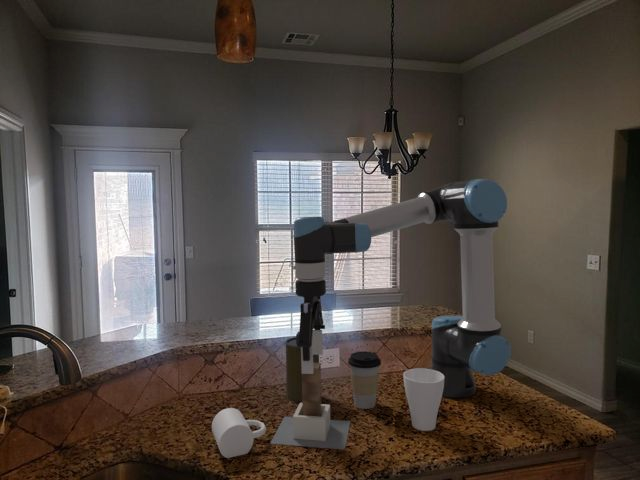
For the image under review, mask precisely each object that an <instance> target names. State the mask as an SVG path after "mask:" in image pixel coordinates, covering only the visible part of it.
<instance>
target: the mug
mask: <svg viewBox="0 0 640 480" xmlns="http://www.w3.org/2000/svg"><path fill="white" fill-rule="evenodd" d="M252 426H256V427H259V429H257V430H254V431H253V430H251V428H250V427H252ZM266 430H267V426H266V424H265V423H264V422H262V421H260V420H256V419H245V417H244V415H243V413H242V412H241V411H240V410H239V409H237V408H233V407H227V408H224V409H222V410H219V412H218V413H217V414H216V415H215V416H214V417H213V420H212V423H211V433H212V434H213V437H214V439H215V441H216V442H215V443H216V444H217V447H218V450H219V452H220V454H221V455H222V457H224V458H226V459H231V458H233V457H238V456H242V455H246V454H247V455H248V453H249V452H250V451H251V449H252V447H253V445H254V440H255V439H256V438H260V437H261V436H263V435H264V434H266V432H267V431H266Z"/></svg>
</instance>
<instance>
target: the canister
mask: <svg viewBox="0 0 640 480" xmlns="http://www.w3.org/2000/svg"><path fill="white" fill-rule="evenodd" d="M295 335H296V336H294V337H290V338H287V339H285V342H284V344H285V380H286V381H285V382H286V383H285V384H286V385H285V386H286V388H285V389H286V391H285V392H286V394H285V396H286V398H287V399H288V400H290V401H293V402H300V403H302V368H301V347H297V343H299V331H297V333H296V334H295ZM304 341H306V340H304ZM313 363H320V355H313Z"/></svg>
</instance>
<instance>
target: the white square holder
mask: <svg viewBox="0 0 640 480" xmlns="http://www.w3.org/2000/svg"><path fill="white" fill-rule="evenodd" d="M292 415H293V416H292V417H293V439H305V440H318V441H326V438H327V434H328V431H329V428H330V420H331V404H326V403H325V404H324V403H323V404H322V403H321V417H318V416H303V408H302V402H300V403H299V404H298V405H297V408H296V409H295V411H294V414H292Z"/></svg>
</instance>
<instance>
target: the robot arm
mask: <svg viewBox="0 0 640 480" xmlns="http://www.w3.org/2000/svg"><path fill="white" fill-rule="evenodd" d="M507 209H508V198H507V195H506V193H505V190H504V189H503V187H502V186H501V185H500V184H499V183H497V182H496V181H494V180H492V179H486V178H476V179H469V180H462V181H453V182H450V183H447V184H444V185H441V186H438V187H435V188H433V189H430V190H428V191H425V192H421V193H418V195H417V197H415V198H411V199H408V200H405V201H401V202H397V203H393V204H391V205H386V206H382V207H379V208H375V209H373V210H369V211H365V212H361V213H359V214H354V215H350V216H347V217H344V218H340V219H337V220H332V221H325V219H324V217H323V216H299V217H296V218H295V219H294V221H293V234H292V235H293V247H294V265H293V267H292V269H293V270H295V271H294V272H295V273H294V276H295V277H294V278H295V279H296V280H295V281H294V284H295V287H294V288H295V295H296V296H298V297H301V298H303V303H300V316H299V317H300V318H299V319H300V320H299V329H298V330H299V343H297V347H301V368H302V374H313V373H314V370H313V355H319V356H322V355H323V354H324V347H323V346H324V344H323V342H324V341H323V330H325V329H326V325H325V324H324V319H323V318H324V317H323V309H322V302H321V301H322V300H321V297H322V296H324V295H326V294H327V284H326V280H325V279H324V278H326V277H327V275H326V274H327V273H326V255H331V254H350V253H355V254H358V253H364V252H367V251H369V249H370V247H371V245H372V238H374V237H378V236H381V235H385V234H388V233H392V232H394V231H397V230H401V229H405V228H409V227H413V226H416V225H418V224H423V223H425V224H428V225H430V224H434V223H438V222H453V229H454V231H456V232H457V233H458V234H459V236H460V238H459V239H460V241H459V242H460V272H461V274H460V275H461V276H460V277H461V303H462V315H442V316H436V317H434V318H433V319H432V322H431V328H430V329H431V364H430V367H429V369H432V370H435V371H438V372H440V373H442V374H443V375H444V377H445V379H444V389H443V393H442V397H444V398H449V399H450V398H452V399H462V398H463V399H464V398H469V397H472V396H473V395H475V394H476V392H477V390H476V389H477V387H476V386H477V383H476V380H475V378H474V375H473V372H475V373H477V374H480V375H483V376H494V375H496V374H498V373H500V372H502V370H503V369H504V368H505V367H506V366H507V365H508V364H509V361H510V358H511V355H512V353H511V352H512V349H511V345H510V342H509V341H507V339H506V338H505V337H503V336H502V324H501V323H500V322H499V321H498V320H497V319H496V314H495V313H496V311H495V306H496V305H495V277H494V275H495V274H494V272H495V271H494V237H493V236H494V233H495V232H496V231H497V230H498V229H499V221H500V220H501V219H502V218H503V217H504V214H505V213H506V212H507ZM304 340H306V341H304Z"/></svg>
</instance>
